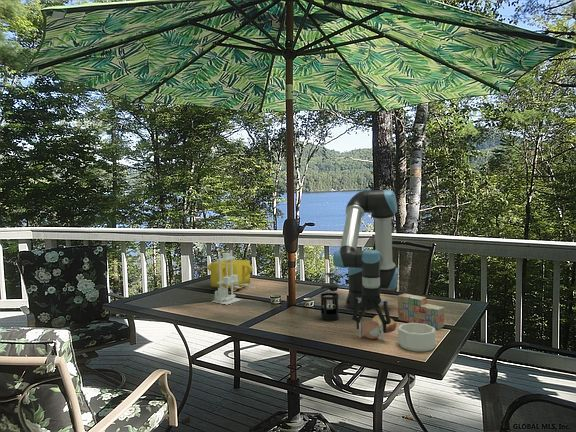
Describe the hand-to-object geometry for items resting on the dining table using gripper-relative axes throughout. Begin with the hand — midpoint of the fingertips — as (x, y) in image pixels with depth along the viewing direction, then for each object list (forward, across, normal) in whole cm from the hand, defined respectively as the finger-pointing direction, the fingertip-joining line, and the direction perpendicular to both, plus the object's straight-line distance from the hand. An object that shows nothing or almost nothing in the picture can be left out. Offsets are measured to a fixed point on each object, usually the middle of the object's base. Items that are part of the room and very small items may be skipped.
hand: (371, 337), depth 182 cm
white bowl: (0, +19, -1) cm, 19 cm away
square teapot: (0, -110, +60) cm, 125 cm away
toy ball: (+1, 0, 0) cm, 1 cm away
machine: (0, -85, +28) cm, 90 cm away
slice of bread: (+1, 0, +19) cm, 19 cm away
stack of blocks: (0, +17, +30) cm, 34 cm away
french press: (0, -26, +21) cm, 34 cm away
